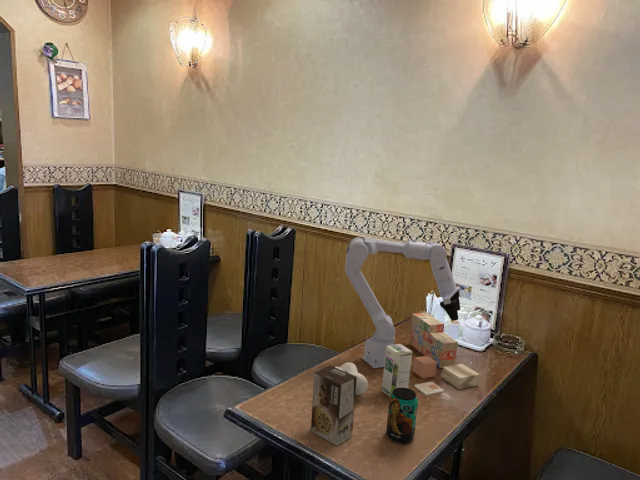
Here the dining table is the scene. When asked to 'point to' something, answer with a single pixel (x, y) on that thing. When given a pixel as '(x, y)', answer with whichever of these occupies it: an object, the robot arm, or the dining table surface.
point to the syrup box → (396, 368)
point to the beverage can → (402, 415)
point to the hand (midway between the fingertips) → (456, 315)
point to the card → (429, 388)
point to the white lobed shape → (361, 380)
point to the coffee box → (333, 404)
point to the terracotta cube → (425, 366)
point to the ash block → (460, 376)
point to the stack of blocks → (432, 339)
